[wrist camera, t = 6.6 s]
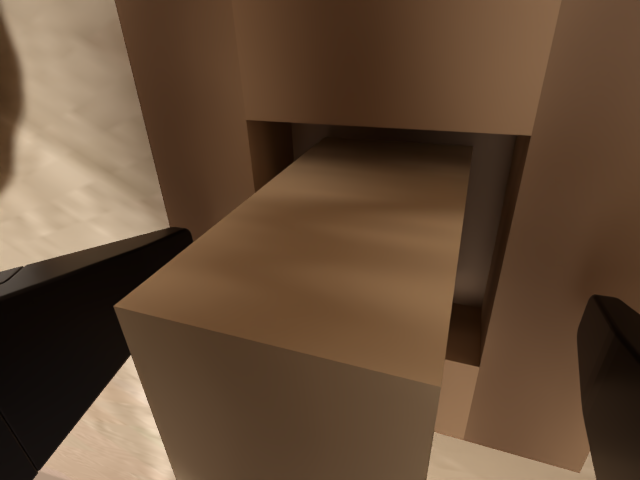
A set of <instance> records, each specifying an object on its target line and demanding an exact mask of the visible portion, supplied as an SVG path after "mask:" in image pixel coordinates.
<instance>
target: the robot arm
mask: <svg viewBox="0 0 640 480" xmlns="http://www.w3.org/2000/svg"><path fill="white" fill-rule="evenodd" d="M192 243H193V238H192V234H191V232H190V230H188V229H187V228H181V227H170V228H166V229H162V230H158V231H155V232H151V233H147V234H143V235H139V236H136V237H132V238H128V239H124V240H120V241H116V242H113V243H109V244H105V245H101V246H97V247H94V248H90V249H86V250H82V251H78V252H74V253H71V254H67V255H63V256H59V257H55V258H52V259H48V260H44V261H40V262H36V263H33V264H29V265H26V266H25V267H23V266H21V267H17V268H13V269H9V270H6V271H2V272H0V480H33V479H34V478H35V476H36V475H37V474H38V471H39V470H40V469H41V468H42V467H43V466H44V464H45V463H46V462H47V461H48V459H49V458H50V457H51V455H52V454H53V453H54V452H55V450H56V449H57V448H58V447H59V445H60V444H61V443H62V442H63V440H64V439H65V438H66V436H67V435H68V434H69V433H70V431H71V430H72V429H73V428H74V426H75V425H76V424H77V422H78V421H79V420H80V419H81V417H82V416H83V415H84V414H85V412H86V411H87V410H88V409H89V407H90V406H91V405H92V403H93V402H94V401H95V400H96V398H97V397H98V396H99V395H100V393H101V392H102V391H103V390H104V388H105V387H106V386H107V384H108V383H109V382H110V381H111V379H112V378H113V377H114V376H115V374H116V373H117V372H118V370H119V369H120V368H121V367H122V365H123V364H124V363H125V362H126V360H127V359H128V358H129V357H130V355H131V353H130V350H129V348H128V345H127V342H126V339H125V337H124V334H123V331H122V328H121V326H120V323H119V320H118V317H117V315H116V312H115V309H114V305H115V304H117V303H118V302H119V301H121V300H122V299H123V298H124V297H126V296H127V295H128V294H129V293H131V292H132V291H133V290H134V289H136V288H137V287H138V286H139V285H141V284H142V283H143V282H144V281H146V280H147V279H148V278H149V277H151V276H152V275H153V274H154V273H156V272H157V271H158V270H159V269H161V268H162V267H163V266H164V265H166V264H167V263H168V262H169V261H171V260H172V259H173V258H174V257H176V256H177V255H178V254H179V253H181V252H182V251H183V250H184V249H186V248H187V247H188V246H189V245H191V244H192ZM577 351H578V365H579V378H580V392H581V404H582V412H583V418H584V423H585V428H586V433H587V438H588V442H589V447H590V452H591V456H592V461H593V466H594V471H595V475H596V480H640V314H639V313H638V312H636V311H635V310H634V309H632V308H631V307H630V306H628V305H627V304H626V303H624V302H623V301H622V300H620V299H619V298H616V297H610V296H604V295H598V294H594V295H592V296H591V297H590V298H589V300H588V302H587V305H586V307H585V310H584V313H583V316H582V318H581V321H580V324H579V327H578V330H577Z"/></svg>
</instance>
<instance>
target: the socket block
mask: <svg viewBox="0 0 640 480" xmlns="http://www.w3.org/2000/svg"><path fill="white" fill-rule="evenodd" d="M115 3H116V7H117V12H118V16H119V20H120V24H121V28H122V32H123V36H124V40H125V44H126V48H127V53H128V57H129V61H130V65H131V69H132V73H133V77H134V81H135V85H136V89H137V93H138V98H139V102H140V106H141V110H142V114H143V118H144V122H145V126H146V130H147V134H148V139H149V143H150V147H151V151H152V155H153V159H154V163H155V167H156V171H157V175H158V180H159V184H160V188H161V192H162V196H163V200H164V204H165V208H166V212H167V216H168V220H169V225H170V227H181V228H187V229H188V230H190V232H191V234H192V238H193V242H194V241H196V240H197V239H198V238H199V237H201V236H202V235H203V234H204V233H206V232H207V231H208V230H209V229H211V228H212V227H213V226H214V225H216V224H217V223H218V222H219V221H221V220H222V219H223V218H224V217H226V216H227V215H228V214H229V213H231V212H232V211H233V210H234V209H236V208H237V207H238V206H239V205H241V204H242V203H243V202H244V201H246V200H247V199H248V198H249V197H251V196H252V195H253V194H254V193H256V192H257V191H258V190H259V189H261V188H262V187H263V186H264V185H266V184H267V183H268V182H269V181H271V180H272V179H273V178H274V177H276V176H277V175H278V174H279V173H281V172H282V171H283V170H284V169H286V168H287V167H288V166H289V165H291V164H292V163H293V162H294V161H296V160H297V159H298V158H299V157H301V156H302V155H303V154H304V153H306V152H307V151H308V150H309V149H311V148H312V147H313V146H314V145H316V144H317V143H318V142H319V141H321V140H322V139H323V138H325V137H334V138H350V139H366V140H381V141H397V142H413V143H429V144H444V145H460V146H473V151H472V158H471V166H470V173H469V181H468V189H467V196H466V204H465V211H464V219H463V226H462V234H461V241H460V249H459V256H458V264H457V271H456V279H455V287H454V294H453V302H452V309H451V317H450V324H449V332H448V339H447V347H446V354H445V362H444V370H443V377H442V385H441V391H440V397H439V404H438V410H437V416H436V422H435V429H434V432H437V433H440V434H444V435H447V436H451V437H454V438H458V439H461V440H465V441H468V442H472V443H475V444H479V445H483V446H486V447H490V448H493V449H497V450H500V451H504V452H507V453H511V454H514V455H518V456H521V457H525V458H528V459H532V460H535V461H539V462H543V463H546V464H550V465H553V466H557V467H560V468H564V469H567V470H571V471H574V472H578V473H580V471H581V468H582V466H583V464H584V462H585V460H586V458H587V456H588V454H589V452H590V447H589V442H588V438H587V433H586V428H585V423H584V418H583V412H582V404H581V392H580V378H579V365H578V351H577V330H578V327H579V324H580V321H581V318H582V316H583V313H584V310H585V307H586V305H587V302H588V300H589V298H590V297H591V296H592V295H594V294H598V295H604V296H610V297H616V298H619V299H620V300H622V301H623V302H624V303H626V304H627V305H628V306H630V307H631V308H632V309H634V310H635V311H636V312H638V313H639V314H640V0H115Z"/></svg>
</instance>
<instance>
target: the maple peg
mask: <svg viewBox="0 0 640 480" xmlns="http://www.w3.org/2000/svg"><path fill="white" fill-rule="evenodd" d="M472 151H473V146H460V145H444V144H429V143H413V142H397V141H381V140H366V139H350V138H334V137H325V138H323V139H322V140H321V141H319V142H318V143H317V144H316V145H314V146H313V147H312V148H311V149H309V150H308V151H307V152H306V153H304V154H303V155H302V156H301V157H299V158H298V159H297V160H296V161H294V162H293V163H292V164H291V165H289V166H288V167H287V168H286V169H284V170H283V171H282V172H281V173H279V174H278V175H277V176H276V177H274V178H273V179H272V180H271V181H269V182H268V183H267V184H266V185H264V186H263V187H262V188H261V189H259V190H258V191H257V192H256V193H254V194H253V195H252V196H251V197H249V198H248V199H247V200H246V201H244V202H243V203H242V204H241V205H239V206H238V207H237V208H236V209H234V210H233V211H232V212H231V213H229V214H228V215H227V216H226V217H224V218H223V219H222V220H221V221H219V222H218V223H217V224H216V225H214V226H213V227H212V228H211V229H209V230H208V231H207V232H206V233H204V234H203V235H202V236H201V237H199V238H198V239H197V240H196V241H194V242H193V243H192V244H191V245H189V246H188V247H187V248H186V249H184V250H183V251H182V252H181V253H179V254H178V255H177V256H176V257H174V258H173V259H172V260H171V261H169V262H168V263H167V264H166V265H164V266H163V267H162V268H161V269H159V270H158V271H157V272H156V273H154V274H153V275H152V276H151V277H149V278H148V279H147V280H146V281H144V282H143V283H142V284H141V285H139V286H138V287H137V288H136V289H134V290H133V291H132V292H131V293H129V294H128V295H127V296H126V297H124V298H123V299H122V300H121V301H119V302H118V303H117V304H115V305H114V309H115V312H116V315H117V317H118V320H119V323H120V326H121V328H122V331H123V334H124V337H125V339H126V342H127V345H128V348H129V350H130V353H131V356H132V359H133V361H134V364H135V367H136V370H137V373H138V375H139V378H140V381H141V384H142V386H143V389H144V392H145V395H146V397H147V400H148V403H149V406H150V408H151V411H152V414H153V417H154V419H155V422H156V425H157V428H158V430H159V433H160V436H161V439H162V441H163V444H164V447H165V450H166V452H167V455H168V458H169V461H170V463H171V466H172V469H173V472H174V475H175V477H176V480H426V478H427V472H428V466H429V460H430V453H431V447H432V441H433V435H434V429H435V422H436V416H437V410H438V404H439V397H440V391H441V385H442V377H443V370H444V362H445V354H446V347H447V339H448V332H449V324H450V317H451V309H452V302H453V294H454V287H455V279H456V271H457V264H458V256H459V249H460V241H461V234H462V226H463V219H464V211H465V204H466V196H467V189H468V181H469V173H470V166H471V158H472Z"/></svg>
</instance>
